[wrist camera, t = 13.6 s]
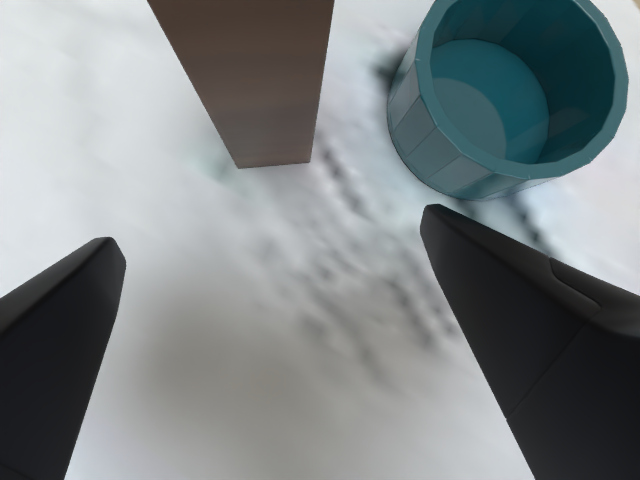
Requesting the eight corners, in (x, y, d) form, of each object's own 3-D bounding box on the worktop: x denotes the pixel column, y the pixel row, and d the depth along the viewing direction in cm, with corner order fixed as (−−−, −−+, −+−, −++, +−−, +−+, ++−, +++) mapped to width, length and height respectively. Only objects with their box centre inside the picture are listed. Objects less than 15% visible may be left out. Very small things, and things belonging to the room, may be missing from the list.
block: (310, 162, 18) (352, -111, 5) (237, 168, 18) (86, -110, 5) (302, 94, 18) (322, -323, 5) (230, 99, 18) (72, -337, 5)
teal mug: (542, 216, 19) (619, 199, 14) (373, 180, 18) (399, 151, 14) (564, 15, 20) (641, -57, 16) (409, -25, 20) (443, -111, 15)
